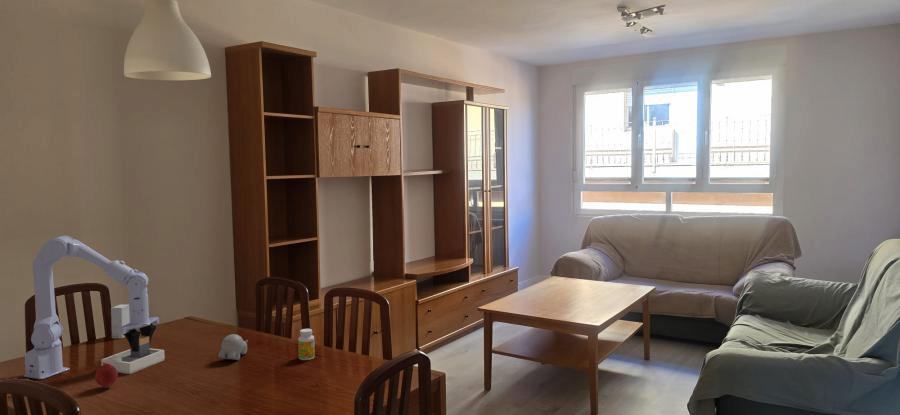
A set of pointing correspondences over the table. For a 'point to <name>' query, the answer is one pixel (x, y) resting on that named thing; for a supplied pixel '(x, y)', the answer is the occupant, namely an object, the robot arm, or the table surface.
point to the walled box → (134, 361)
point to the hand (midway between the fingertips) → (140, 349)
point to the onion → (106, 375)
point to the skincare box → (119, 319)
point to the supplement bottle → (306, 345)
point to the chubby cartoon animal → (233, 347)
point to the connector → (142, 347)
